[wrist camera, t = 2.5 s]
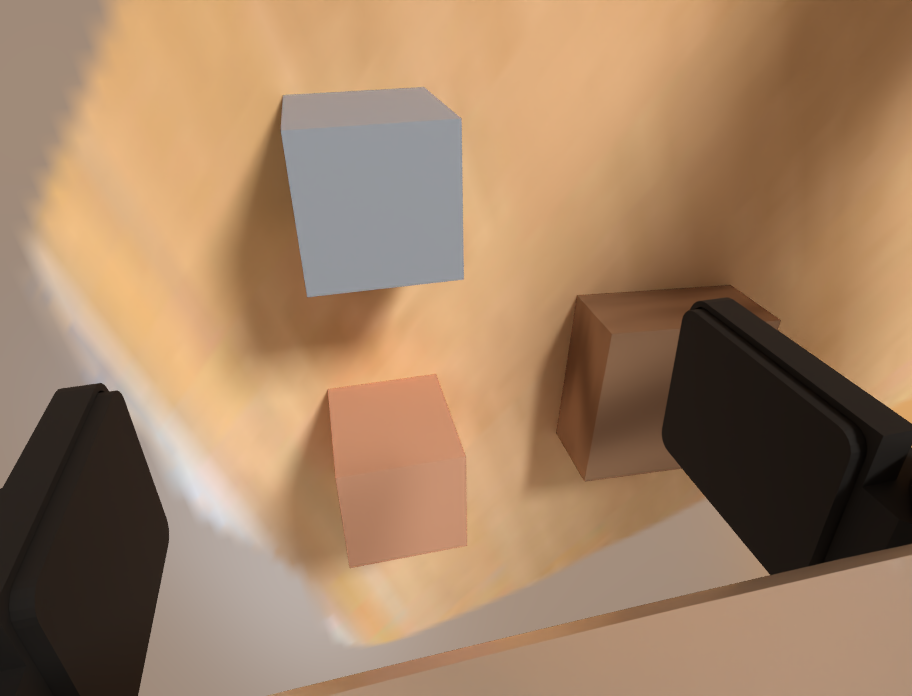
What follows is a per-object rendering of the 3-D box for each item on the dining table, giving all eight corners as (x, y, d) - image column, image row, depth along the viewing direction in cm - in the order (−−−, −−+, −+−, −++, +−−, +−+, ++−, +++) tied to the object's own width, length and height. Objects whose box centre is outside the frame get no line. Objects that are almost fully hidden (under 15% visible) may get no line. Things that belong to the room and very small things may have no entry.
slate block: (283, 95, 22) (280, 130, 17) (423, 86, 23) (461, 118, 18) (303, 231, 24) (307, 297, 19) (429, 219, 25) (463, 279, 20)
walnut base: (574, 292, 29) (612, 334, 26) (726, 282, 31) (780, 320, 27) (554, 430, 33) (584, 481, 30) (690, 414, 35) (732, 461, 31)
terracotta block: (327, 388, 28) (335, 477, 23) (435, 373, 29) (465, 456, 24) (340, 471, 31) (349, 568, 26) (439, 455, 32) (467, 545, 27)
